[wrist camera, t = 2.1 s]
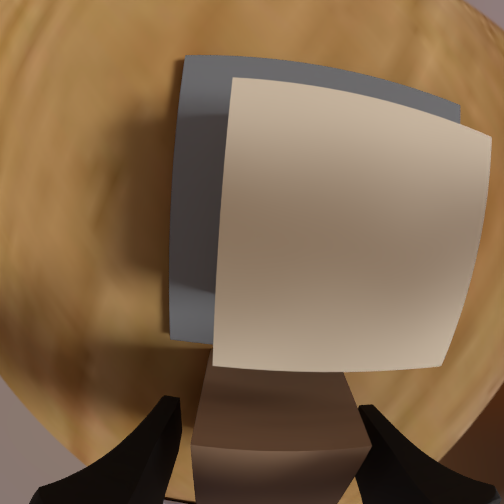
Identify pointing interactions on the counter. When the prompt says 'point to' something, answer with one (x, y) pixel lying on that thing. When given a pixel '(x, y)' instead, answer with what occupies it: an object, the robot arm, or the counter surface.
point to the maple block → (343, 230)
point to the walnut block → (275, 437)
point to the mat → (212, 167)
